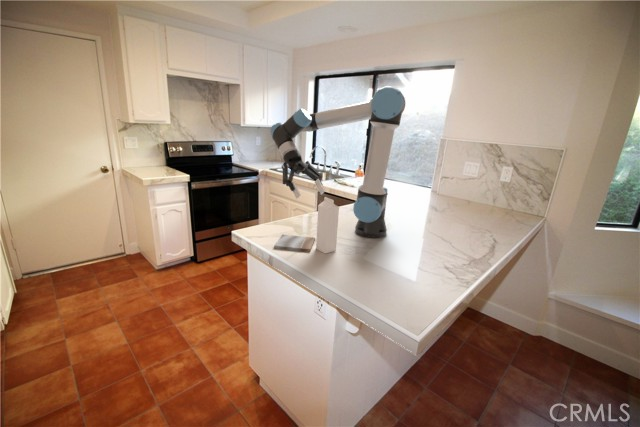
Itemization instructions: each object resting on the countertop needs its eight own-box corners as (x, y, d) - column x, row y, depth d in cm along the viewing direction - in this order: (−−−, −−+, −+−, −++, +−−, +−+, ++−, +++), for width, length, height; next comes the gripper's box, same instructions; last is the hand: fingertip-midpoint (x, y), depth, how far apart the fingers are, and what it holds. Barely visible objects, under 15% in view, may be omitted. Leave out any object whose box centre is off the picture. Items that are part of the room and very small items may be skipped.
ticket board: (314, 240, 135) (315, 237, 134) (310, 252, 122) (310, 249, 122) (282, 236, 136) (282, 234, 136) (274, 248, 124) (274, 245, 124)
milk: (324, 253, 122) (327, 201, 115) (315, 248, 126) (318, 197, 119) (336, 250, 125) (339, 199, 118) (327, 245, 130) (330, 195, 123)
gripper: (308, 158, 144) (327, 195, 138) (262, 161, 127) (283, 203, 121) (315, 148, 138) (337, 186, 132) (269, 149, 122) (291, 193, 116)
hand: (311, 194), depth 127 cm, fingers open, 13 cm apart
